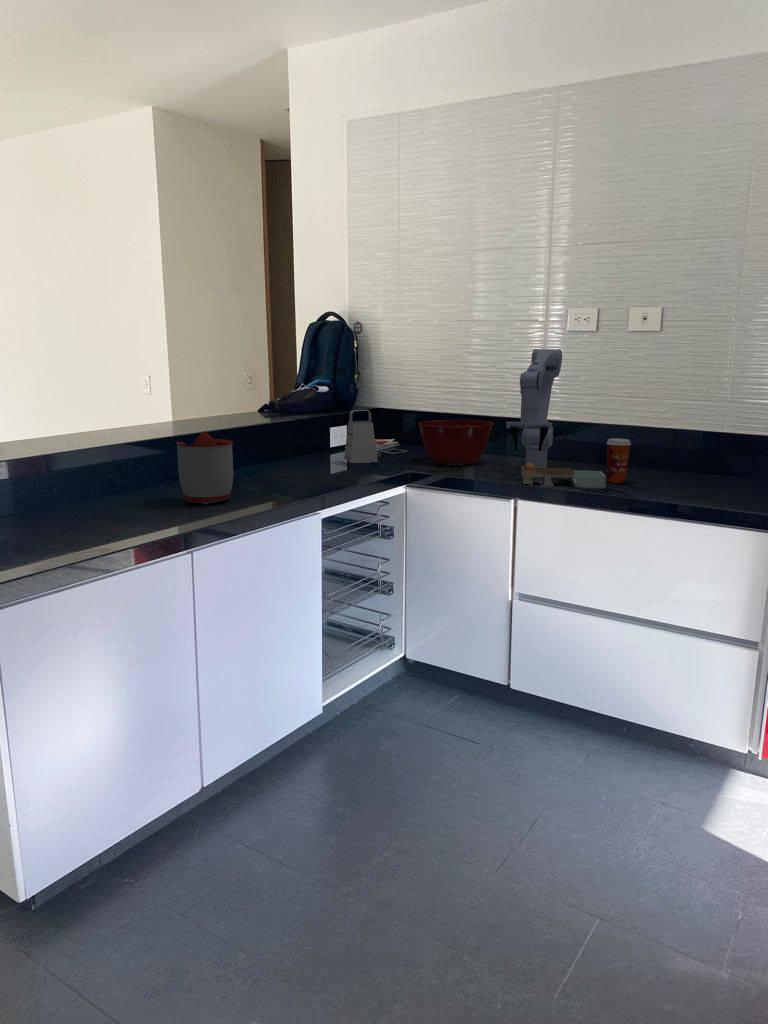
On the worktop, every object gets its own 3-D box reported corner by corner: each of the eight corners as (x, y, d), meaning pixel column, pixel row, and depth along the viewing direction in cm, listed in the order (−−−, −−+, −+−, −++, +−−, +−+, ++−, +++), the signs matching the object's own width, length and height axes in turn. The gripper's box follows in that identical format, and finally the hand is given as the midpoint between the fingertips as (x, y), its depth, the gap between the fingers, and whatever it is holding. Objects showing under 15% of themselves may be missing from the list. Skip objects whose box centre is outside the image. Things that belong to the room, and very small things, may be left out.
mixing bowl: (404, 460, 290) (404, 420, 286) (467, 456, 301) (468, 417, 298) (439, 471, 265) (440, 427, 261) (507, 466, 276) (508, 424, 273)
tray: (572, 481, 245) (572, 470, 244) (600, 482, 244) (601, 471, 243) (576, 488, 234) (576, 476, 233) (605, 488, 233) (606, 476, 232)
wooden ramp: (519, 478, 251) (520, 462, 250) (569, 479, 249) (570, 464, 248) (521, 484, 239) (522, 469, 238) (573, 486, 237) (574, 470, 236)
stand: (539, 481, 245) (539, 470, 244) (551, 482, 244) (552, 470, 243) (541, 486, 237) (541, 474, 236) (553, 486, 236) (554, 474, 236)
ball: (524, 471, 242) (524, 462, 241) (534, 472, 242) (534, 462, 241) (524, 473, 239) (525, 463, 238) (535, 473, 239) (535, 463, 238)
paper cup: (612, 484, 240) (615, 441, 237) (599, 480, 247) (602, 438, 244) (633, 483, 242) (636, 440, 239) (620, 479, 249) (623, 437, 246)
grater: (343, 462, 284) (343, 409, 280) (370, 461, 287) (370, 409, 283) (350, 466, 274) (350, 411, 270) (378, 465, 277) (378, 411, 273)
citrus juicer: (208, 493, 224) (205, 426, 220) (246, 500, 214) (244, 430, 209) (164, 501, 213) (160, 431, 208) (202, 509, 202) (198, 435, 198)
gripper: (507, 409, 240) (506, 451, 243) (553, 410, 238) (551, 452, 241) (506, 407, 247) (505, 448, 250) (551, 408, 245) (549, 449, 248)
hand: (527, 450), depth 246 cm, fingers open, 7 cm apart
